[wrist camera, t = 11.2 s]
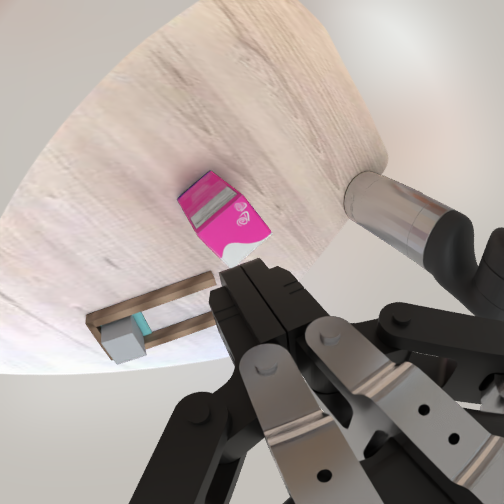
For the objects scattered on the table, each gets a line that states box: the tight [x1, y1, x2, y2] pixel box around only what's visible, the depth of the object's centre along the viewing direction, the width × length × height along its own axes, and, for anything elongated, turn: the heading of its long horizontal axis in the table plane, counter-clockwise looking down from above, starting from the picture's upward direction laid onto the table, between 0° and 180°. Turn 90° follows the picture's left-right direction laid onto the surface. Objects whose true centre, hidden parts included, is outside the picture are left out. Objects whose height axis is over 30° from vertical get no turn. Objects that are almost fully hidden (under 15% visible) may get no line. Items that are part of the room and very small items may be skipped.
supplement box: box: [177, 171, 272, 268], centre depth 32 cm, size 6×6×12 cm
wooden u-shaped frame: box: [85, 271, 216, 360], centre depth 42 cm, size 20×9×2 cm, turn 99°
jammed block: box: [101, 315, 146, 364], centre depth 39 cm, size 5×5×4 cm
